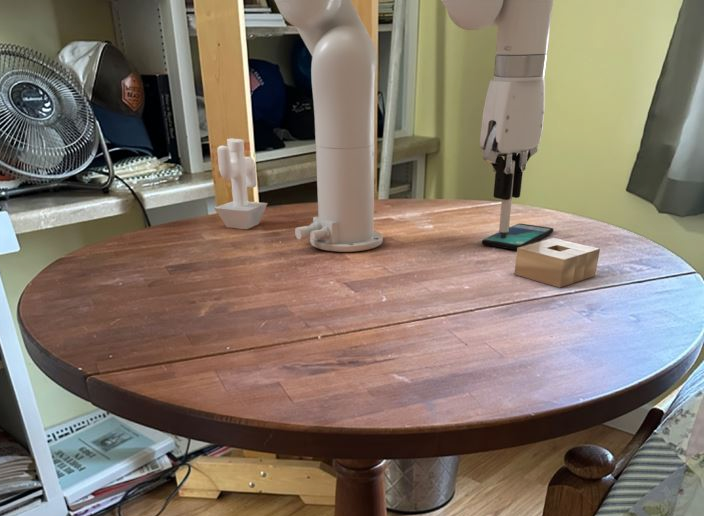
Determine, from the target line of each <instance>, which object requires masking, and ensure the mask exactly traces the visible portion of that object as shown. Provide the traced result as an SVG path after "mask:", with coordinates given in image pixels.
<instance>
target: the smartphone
mask: <svg viewBox="0 0 704 516" xmlns="http://www.w3.org/2000/svg"><path fill="white" fill-rule="evenodd" d="M554 231H555V228H553V227H550V226H549V227H548V226H542V225H534V224H527V223H516V224H513V225H511V226H509V232H507V236H506V238H501V237H500V236H501V232H499V231H498V232H496V233H495V234H492V235H490V236H488V237H486V238H484V239H482V240H481V244H482V245H483V246H490V247H496V248H503V249H508V250H515V251H517V248H518V247H522V246H525V245H529V244H533V243H535V242H537V241H538V240H541V239H542V238H545V237H546V236H548V235H550V234H552V233H553V232H554Z"/></svg>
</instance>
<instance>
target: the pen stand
mask: <svg viewBox="0 0 704 516" xmlns="http://www.w3.org/2000/svg"><path fill="white" fill-rule="evenodd" d="M600 252H601V248H598V247H595V246H589V245H586V244H581V243H577V242H573V241H568V240H565V239H560V238H556V237H551V238H547V239H543V240H540V241H535V242H533V243H531V244H529V245H525V246H522V247H518V248H517V250H516V258H515V266H514V275H515V276H519V277H522V278H525V279H529V280H532V281H536V282H539V283H543V284H545V285H549V286H552V287H556V288H559V289H560V288H563V287H566V286H569V285H572V284H576V283H578V282H581V281H584V280H588V279H590V278H593V277H596V274H597V269H598V262H599V256H600Z"/></svg>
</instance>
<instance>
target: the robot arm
mask: <svg viewBox="0 0 704 516" xmlns="http://www.w3.org/2000/svg"><path fill="white" fill-rule="evenodd" d="M273 2H274V3H275V5H276V7H277V9H278V12H279V13H280V14H281V16H282V17H283V18H284V20H285V21H286V22H288V24H290V25H291V26H294V27H295V29H296V31H297V32H298V34H299V36H300V38H301V39H302V41H303V43H304V45H305V47H306V48H307V50H308V51H309V54H310V55H311V65H310V66H311V68H310V72H311V73H310V75H311V76H310V77H311V89H312V90H311V91H312V100H313V114H314V136H315V137H314V138H315V157H316V159H315V160H316V161H315V162H316V187H317V216H313V217H312V222H310V224H309V225H303V226H298V227H295V229H294V235H295V238H296V239H297V240H304V239H308V238H309V244H310V245H311V246H312V247H314V248H316V249H319V250H322V251H327V252H337V253H338V252H339V253H342V252H343V253H352V252H353V253H354V252H362V251H368V250H371V249H374V248H377V247H379V246H381V245H382V244H383V242H384V235H383V234H382V233H381V232H380V231H378V230H375V147H376V146H375V94H376V93H375V87H376V86H375V85H376V84H375V83H376V70H377V67H378V66H377V65H378V53H377V49H376V46H375V44H374V41H373V39H372V38H371V36H370V34H369V32H368V29H367V28H366V26H365V24H364V23H363V21H362V18H361V17H360V15H359V13H358V11H357V8H356V7H355V5H354V3H353V0H273ZM440 2H441V3H442V4H443V6H444V7H445V8H446V10H447V11H446V12H447V14H448V16H449V19H450V20H451V21H452V23H453V24H454V25H455V26H457V27H458V28H460V29H462V30H466V31H479V30H483V29H484V28H490V27H497V31H496V32H497V33H496V34H497V35H496V44H495V45H496V46H495V57H494V68H493V79H491V80H489V84H488V88H487V91H486V95H485V100H484V105H483V110H482V111H483V112H482V118H481V126H480V134H479V148H480V149H481V150H482V151H483V155H482V159H483V161H486V162H488V163H490V164H491V166H492V171H493V172H494V173H495V174H494V186H493V198H494V199H500V200H502V199H503V200H509V199H510V198H511V189H512V180H513V174H512V173H510V171H511V163H512V160H514V161H515V169H514V180H513V191H512V198H515V199H518V198H520V197H521V191H522V183H523V173H524V172H525V171H526V168H527V163H528V162H529V160H530V158H531V157H533V156H534V155H535V154H536V153H537V152H538V151H539V144H540V143H541V140H542V134H543V129H544V120H545V104H546V100H545V99H546V84H545V83H546V81H545V73H546V63H547V58H548V57H547V55H548V49H549V48H548V46H549V38H550V30H551V23H552V15H553V6H554V0H440Z"/></svg>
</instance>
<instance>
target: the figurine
mask: <svg viewBox="0 0 704 516" xmlns="http://www.w3.org/2000/svg"><path fill="white" fill-rule="evenodd" d="M216 150H217V153H216V154H217V162H218V170H219V174H220V177H221V178H222V179H224V180H230V182H231V183H230V184H231V194H232V201H230V202H226V203H223V204H220V205H217V206H215V207H213V208H214V211H215V212H216V213H217V215H218V216H219V218H220V219H221V221H222V222H223V224H224V226H225V227H226V228H229V229H230V228H231V229H238V230H240V229H241V230H249V229H250V228H254V227H255V226H259V224H260V223H261V219H262V217H263V216H264V213H265V210H266V207H267V206H268V202H259V201H251V200H250V201H249V196H248V188H251V189H253V188H255V187H257V185H258V184H257V169H256V163H255V161H254V159H253V158H252V157H251V156H245V140H244V139H241V138H234V137H230V138H227V139H226V145H219V146H218V147H216Z"/></svg>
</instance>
